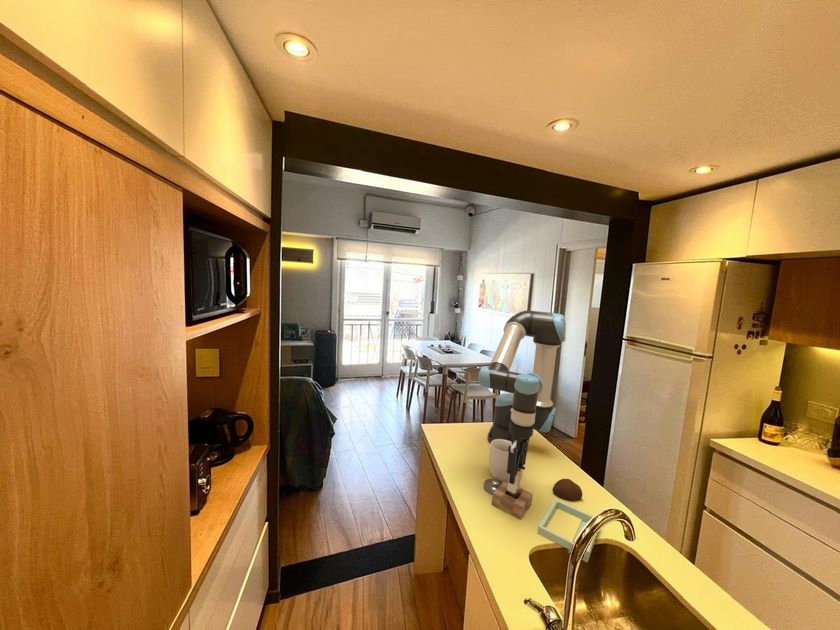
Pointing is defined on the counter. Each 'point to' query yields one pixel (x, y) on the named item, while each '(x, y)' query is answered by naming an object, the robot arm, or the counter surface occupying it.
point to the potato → (567, 489)
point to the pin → (516, 487)
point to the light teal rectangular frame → (559, 538)
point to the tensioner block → (512, 501)
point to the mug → (499, 459)
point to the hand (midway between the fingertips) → (513, 489)
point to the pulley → (491, 485)
